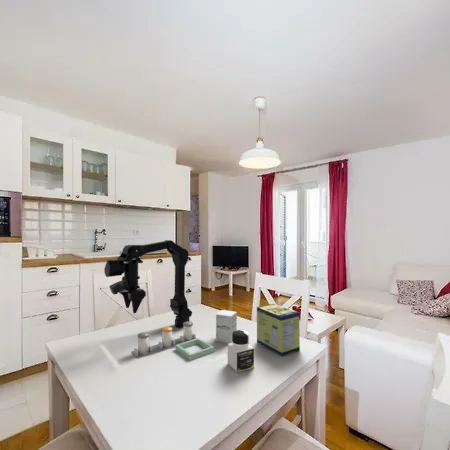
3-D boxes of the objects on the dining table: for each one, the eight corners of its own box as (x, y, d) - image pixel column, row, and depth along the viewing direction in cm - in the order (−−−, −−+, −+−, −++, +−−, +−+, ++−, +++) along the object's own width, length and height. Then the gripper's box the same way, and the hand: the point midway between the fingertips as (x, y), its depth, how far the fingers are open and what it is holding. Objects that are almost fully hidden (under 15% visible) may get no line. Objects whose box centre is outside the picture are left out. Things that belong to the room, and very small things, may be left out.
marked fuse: (169, 342, 109) (169, 325, 110) (173, 345, 106) (174, 328, 106) (159, 345, 107) (160, 328, 107) (164, 348, 103) (164, 331, 104)
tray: (198, 345, 110) (198, 337, 110) (214, 354, 101) (214, 346, 101) (175, 352, 103) (175, 344, 103) (190, 363, 94) (190, 355, 94)
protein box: (273, 337, 118) (273, 303, 119) (300, 350, 105) (300, 312, 106) (256, 342, 113) (256, 306, 113) (281, 357, 100) (281, 316, 100)
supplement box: (215, 343, 111) (215, 314, 112) (221, 337, 118) (222, 309, 119) (231, 346, 109) (231, 316, 109) (237, 339, 115) (237, 311, 116)
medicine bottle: (236, 372, 88) (237, 337, 89) (227, 363, 95) (227, 330, 95) (254, 367, 92) (254, 333, 92) (243, 359, 98) (243, 327, 98)
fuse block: (190, 337, 118) (190, 319, 118) (199, 342, 112) (199, 323, 112) (130, 354, 101) (131, 333, 101) (137, 362, 95) (137, 339, 95)
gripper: (105, 273, 114) (105, 308, 113) (118, 279, 99) (117, 320, 99) (131, 270, 121) (131, 304, 120) (146, 276, 106) (146, 314, 106)
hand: (131, 310), depth 111 cm, fingers open, 9 cm apart
